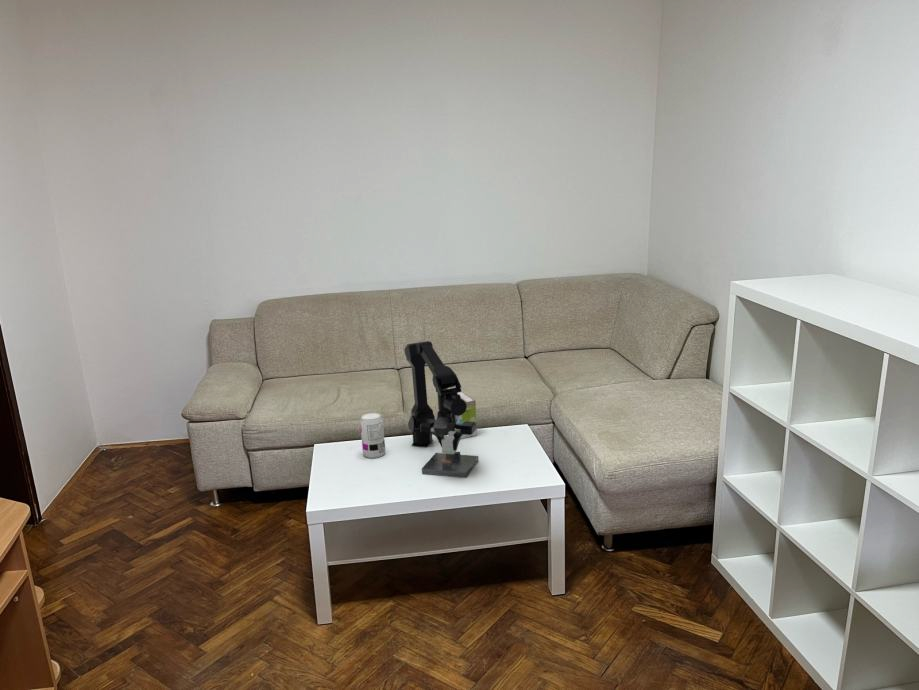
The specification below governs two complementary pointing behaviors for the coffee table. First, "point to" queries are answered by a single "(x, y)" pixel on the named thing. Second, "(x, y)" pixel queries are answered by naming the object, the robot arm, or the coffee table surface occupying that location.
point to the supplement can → (372, 435)
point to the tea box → (467, 414)
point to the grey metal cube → (448, 445)
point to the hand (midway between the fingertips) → (449, 449)
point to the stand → (450, 465)
